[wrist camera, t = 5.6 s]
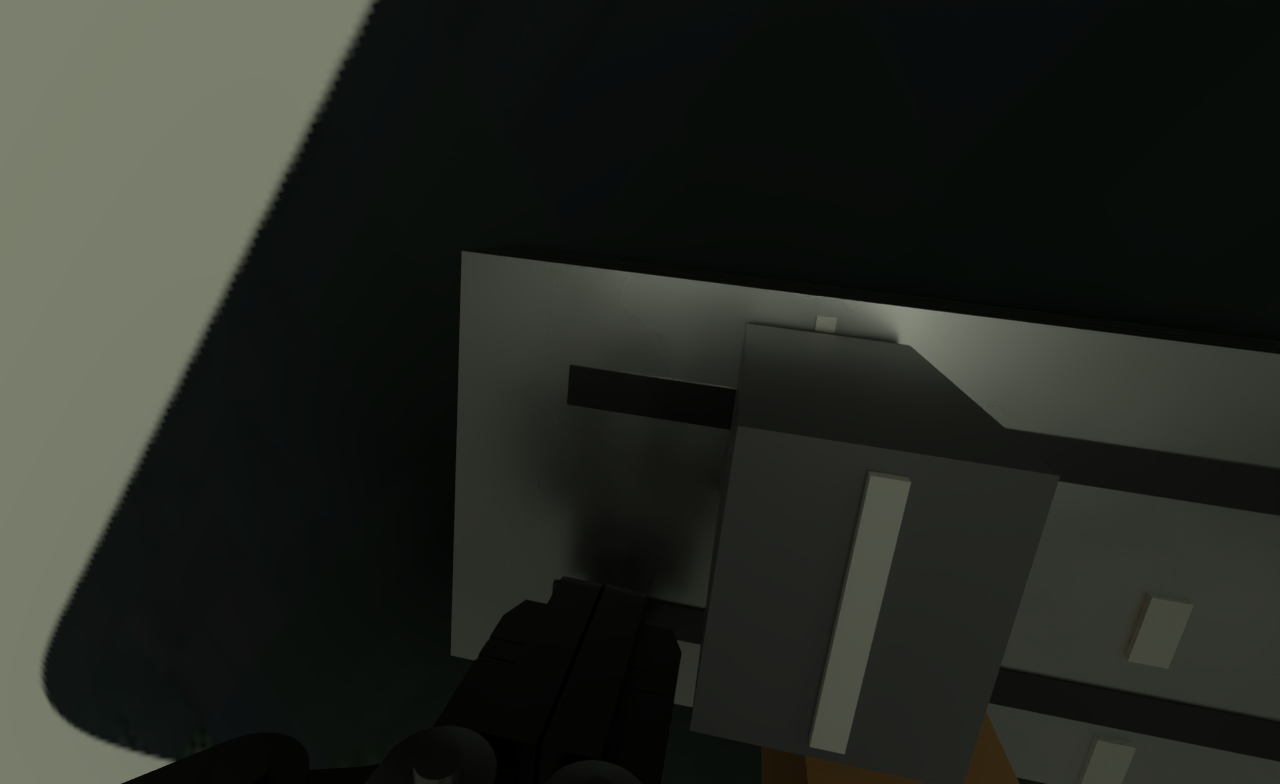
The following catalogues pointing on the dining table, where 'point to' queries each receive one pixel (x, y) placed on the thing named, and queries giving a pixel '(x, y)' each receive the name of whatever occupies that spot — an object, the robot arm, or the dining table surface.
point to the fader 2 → (812, 780)
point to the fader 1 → (863, 557)
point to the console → (992, 377)
